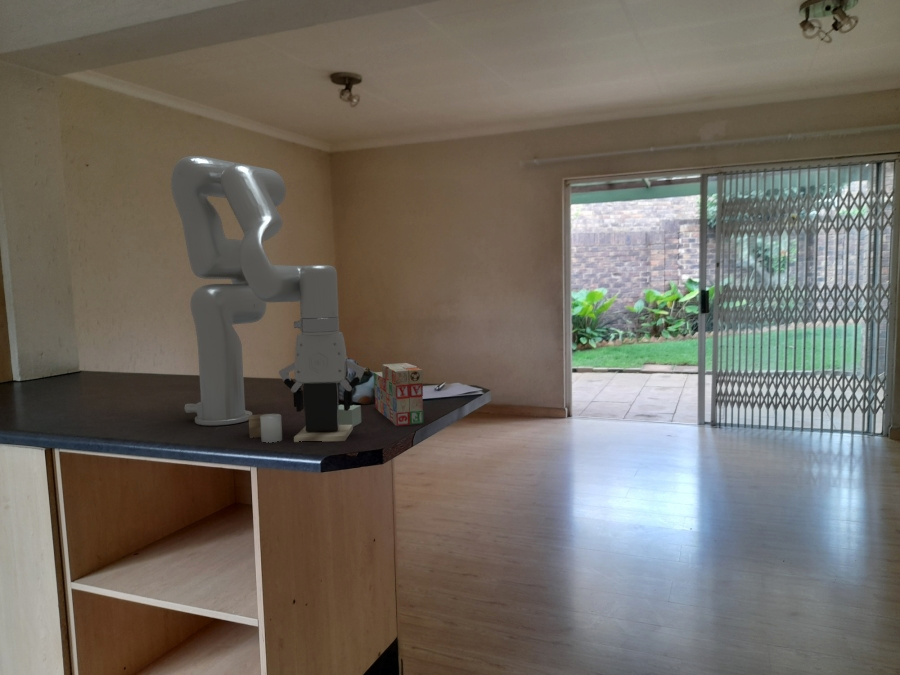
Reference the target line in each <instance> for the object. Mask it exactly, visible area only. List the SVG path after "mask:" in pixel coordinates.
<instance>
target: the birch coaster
mask: <svg viewBox="0 0 900 675" xmlns="http://www.w3.org/2000/svg"><path fill="white" fill-rule="evenodd" d="M353 430H354V427H353V425H339V430H338V431H332V432H306V425H305V426H303V428H302V429H301V430H300V431H299V432H298V433H296V435H294V436H293V442H294V443H303V442H302V441H322V442H346V440H347V438H348V437H349V435H350V434H351V433H352V431H353ZM299 441H301V442H299Z"/></svg>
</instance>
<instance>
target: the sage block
mask: <svg viewBox="0 0 900 675" xmlns="http://www.w3.org/2000/svg"><path fill="white" fill-rule="evenodd" d="M338 418H339V425H353V428H354V427H355V426H358V425H359V424H361V423H362V404H360V405H356V404H352V406H350V409H349V410H348V411H345V410H344V404H339V409H338Z"/></svg>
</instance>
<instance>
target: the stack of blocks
mask: <svg viewBox="0 0 900 675" xmlns="http://www.w3.org/2000/svg"><path fill="white" fill-rule="evenodd" d="M381 370H382V371H379V372H378V371H377V372H376V371H373V372H374V385H375V403H374V404H375V409H376V410H377V411H378V412H379V413H381V414H382V415H383V416H384V417H386V419H388V420H390V422H391V423H393V425H395V426H396V427H399V426H410V425H419V424H424V410H423V409H424V408H423V406H424V403H423V402H424V400H423V398H424V397H423V396H424V390H423V389H424V387H423V385H424V383H423V380H424V379H423V376H424V374H423V369H422V368H419V366H416V365H413V364H411V363H407V362H402V363H398V362H397V363H384V364H382V365H381Z"/></svg>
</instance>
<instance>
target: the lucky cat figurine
mask: <svg viewBox="0 0 900 675" xmlns="http://www.w3.org/2000/svg"><path fill="white" fill-rule="evenodd" d="M347 360H349V361H351V362H353V363H355V364H357V365H359V363H358V361H357V360H355V359H351V358H350V357H348V356H347ZM359 366H360V365H359ZM363 368H364V369H365V371H364V373H363V376H362V378H361V380H360V381H359V382H358V383H357V385H356V386H355V387H354V388H353V389H352V400H353V403H358V404H360V405H363V406H364V405H372V404H375V385H374V372H375V371H372V370H370V368H369V367H368V366H366V367H363ZM355 375H356V372H355V371H353V370H351V369H349V368H348V376H347V378H348V379H349V380H350V381H352V380H353V379H354V378H355ZM338 383H339V400H340V401H344V395H343V392H344V391H345V388H344V387H343V386H342V385H341V383H340V382H338Z"/></svg>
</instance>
